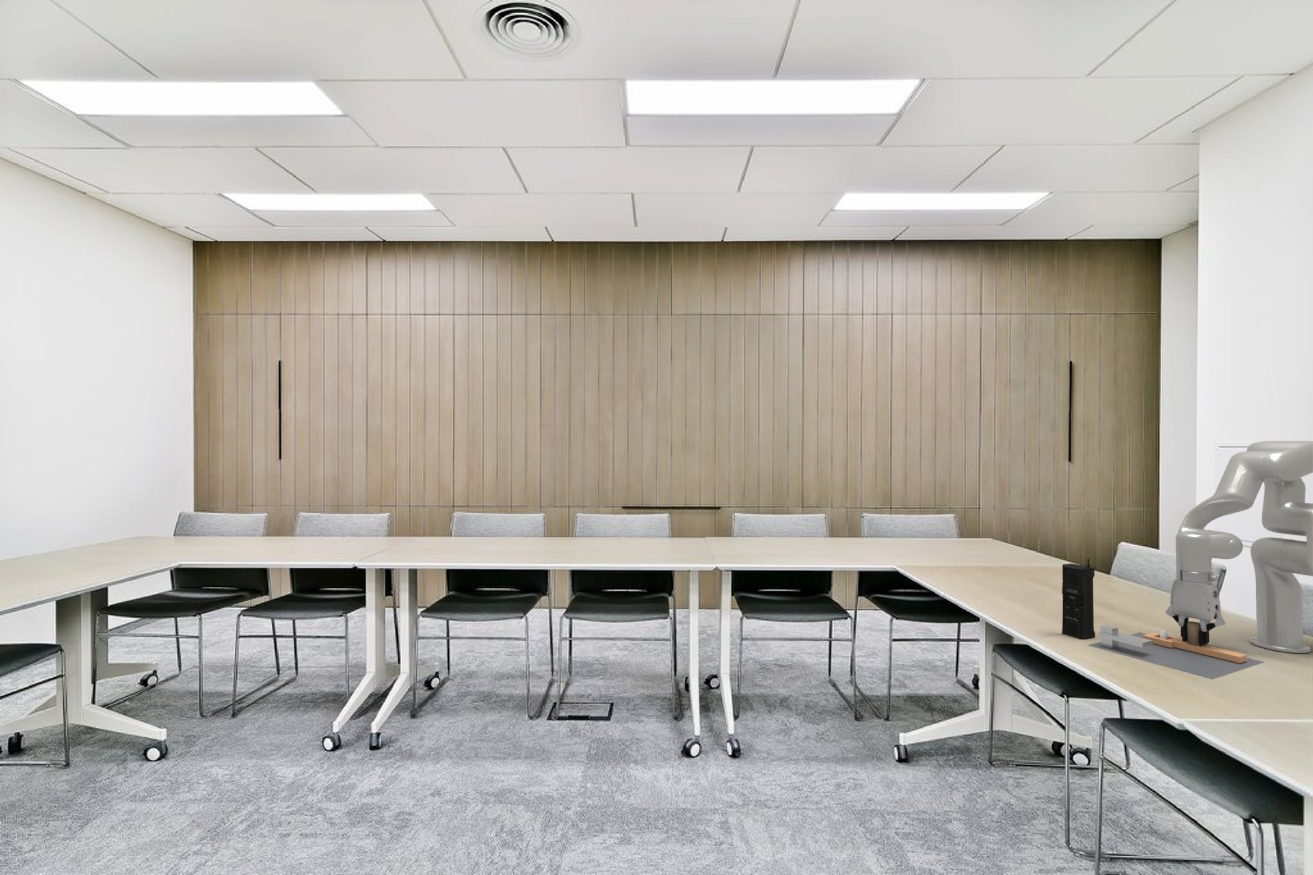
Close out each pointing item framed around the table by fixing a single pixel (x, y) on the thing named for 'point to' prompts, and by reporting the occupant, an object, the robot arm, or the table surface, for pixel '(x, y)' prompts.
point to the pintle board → (1179, 658)
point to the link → (1195, 644)
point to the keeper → (1120, 638)
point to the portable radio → (1078, 601)
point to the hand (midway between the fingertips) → (1194, 642)
